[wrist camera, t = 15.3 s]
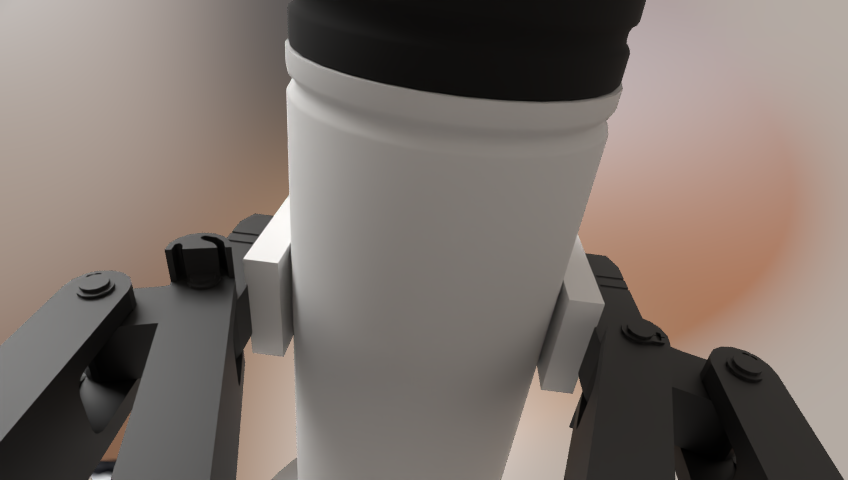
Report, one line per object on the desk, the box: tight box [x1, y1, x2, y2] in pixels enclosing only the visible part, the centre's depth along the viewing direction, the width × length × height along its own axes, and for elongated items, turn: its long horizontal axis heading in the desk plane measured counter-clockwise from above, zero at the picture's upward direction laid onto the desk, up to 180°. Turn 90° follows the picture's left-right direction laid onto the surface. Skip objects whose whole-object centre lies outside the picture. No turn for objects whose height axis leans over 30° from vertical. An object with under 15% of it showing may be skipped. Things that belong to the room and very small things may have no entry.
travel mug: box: [285, 0, 646, 480], centre depth 13 cm, size 6×7×20 cm
